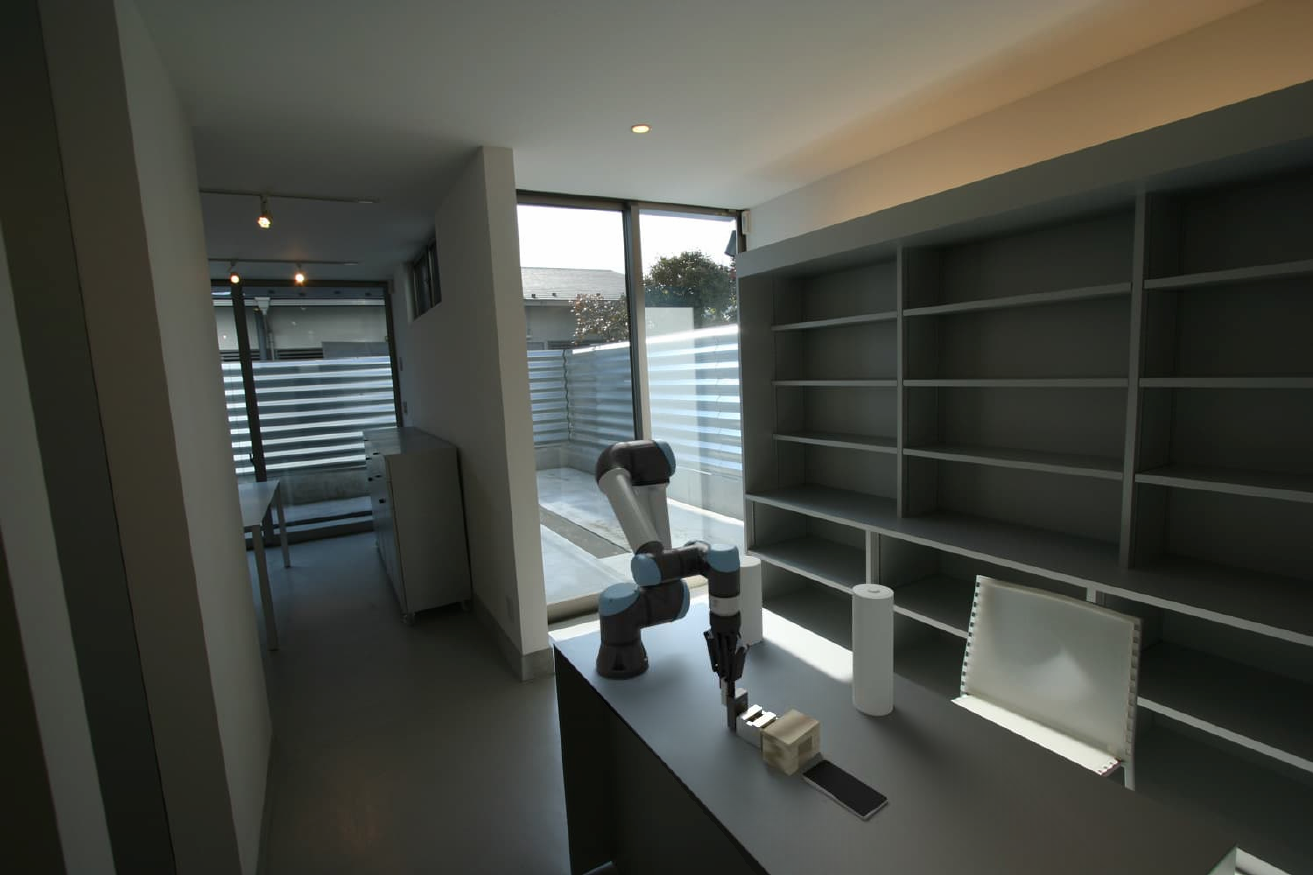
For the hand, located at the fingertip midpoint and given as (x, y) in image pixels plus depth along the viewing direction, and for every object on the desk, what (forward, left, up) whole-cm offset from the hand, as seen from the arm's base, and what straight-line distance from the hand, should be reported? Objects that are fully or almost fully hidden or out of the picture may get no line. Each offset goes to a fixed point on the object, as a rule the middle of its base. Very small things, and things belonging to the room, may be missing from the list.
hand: (727, 703), depth 143 cm
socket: (+18, 0, -5) cm, 19 cm away
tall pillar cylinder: (-25, +36, -5) cm, 44 cm away
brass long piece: (+11, 0, -5) cm, 12 cm away
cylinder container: (+21, +30, -5) cm, 37 cm away
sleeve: (+9, 0, -5) cm, 10 cm away
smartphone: (+32, -1, -5) cm, 32 cm away
